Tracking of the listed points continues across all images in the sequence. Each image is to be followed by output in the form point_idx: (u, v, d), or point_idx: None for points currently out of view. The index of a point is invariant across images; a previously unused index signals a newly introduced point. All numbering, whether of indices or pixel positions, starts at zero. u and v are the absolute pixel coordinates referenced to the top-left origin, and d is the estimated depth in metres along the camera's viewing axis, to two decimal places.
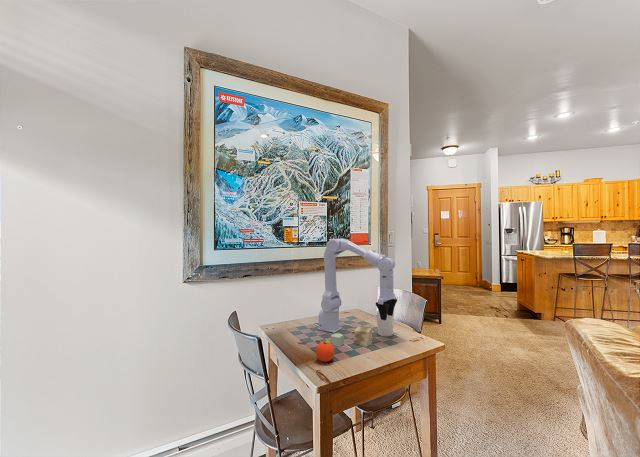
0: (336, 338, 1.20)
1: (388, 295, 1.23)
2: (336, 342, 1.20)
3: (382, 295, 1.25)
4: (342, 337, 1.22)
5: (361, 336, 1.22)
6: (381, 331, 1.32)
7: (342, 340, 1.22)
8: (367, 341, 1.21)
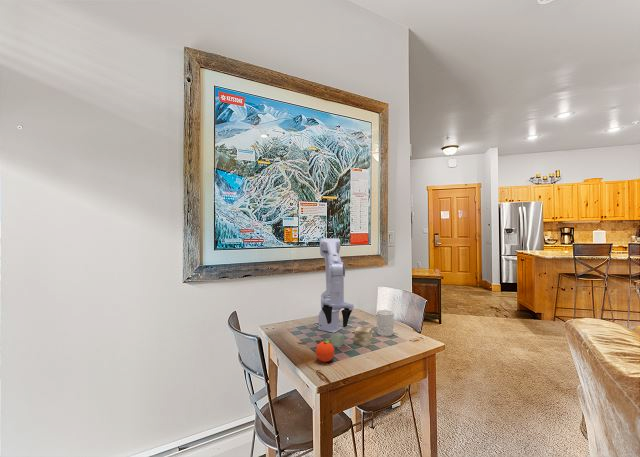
0: (336, 338, 1.20)
1: (330, 301, 1.22)
2: (336, 342, 1.20)
3: None
4: (342, 337, 1.22)
5: (361, 336, 1.22)
6: (381, 331, 1.32)
7: (342, 340, 1.22)
8: (367, 341, 1.21)
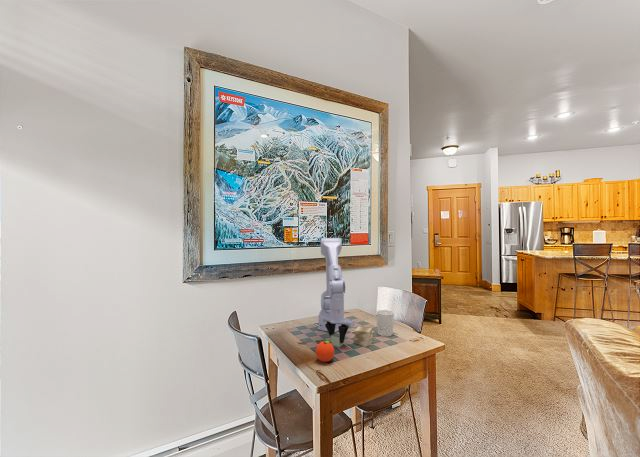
0: (336, 338, 1.20)
1: (330, 317, 1.22)
2: (336, 342, 1.20)
3: None
4: None
5: (361, 336, 1.22)
6: (381, 331, 1.32)
7: None
8: (367, 341, 1.21)
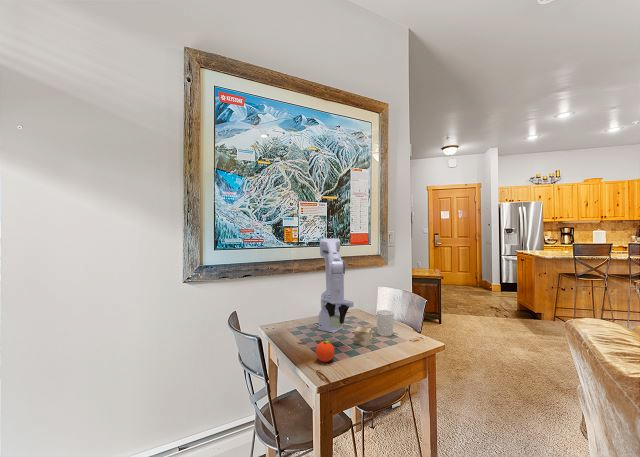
0: (336, 319, 1.20)
1: (330, 298, 1.22)
2: (336, 323, 1.20)
3: None
4: None
5: (361, 336, 1.22)
6: (381, 331, 1.32)
7: None
8: (367, 341, 1.21)
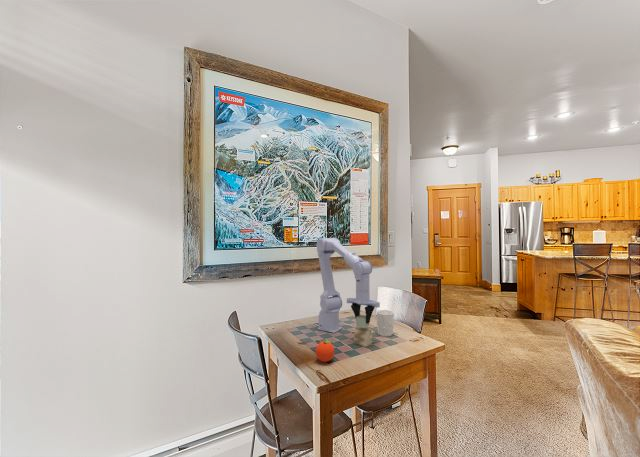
0: (362, 319, 1.23)
1: (356, 298, 1.25)
2: (362, 323, 1.23)
3: None
4: None
5: (361, 336, 1.22)
6: (381, 331, 1.32)
7: None
8: (367, 341, 1.21)
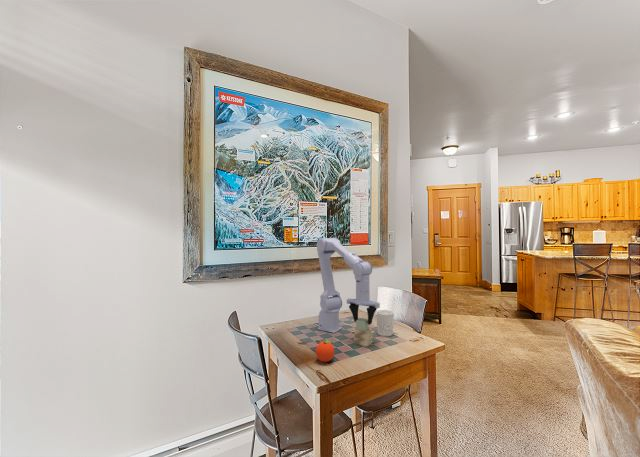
0: (362, 322, 1.23)
1: (356, 299, 1.25)
2: (362, 326, 1.23)
3: None
4: (367, 321, 1.25)
5: (361, 336, 1.22)
6: (381, 331, 1.32)
7: (368, 325, 1.25)
8: (367, 341, 1.21)
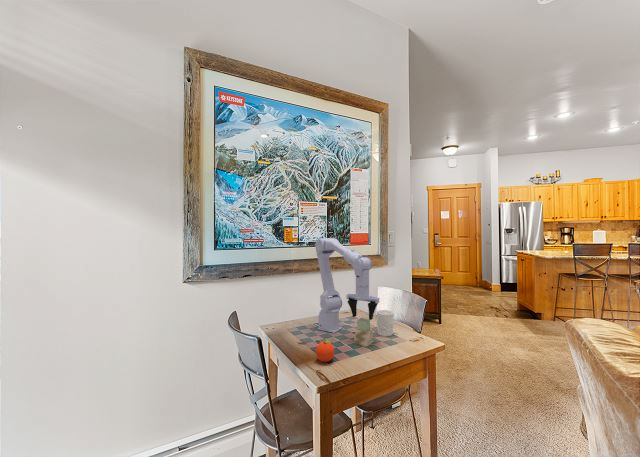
0: (363, 322, 1.23)
1: (355, 294, 1.25)
2: (363, 326, 1.23)
3: None
4: (368, 321, 1.24)
5: (362, 336, 1.22)
6: (381, 331, 1.32)
7: (369, 325, 1.25)
8: (367, 341, 1.21)
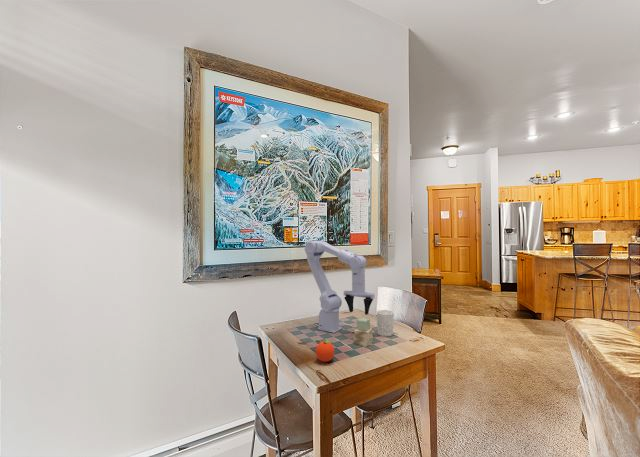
0: (362, 322, 1.23)
1: (352, 291, 1.32)
2: (362, 326, 1.23)
3: None
4: (368, 321, 1.24)
5: (361, 336, 1.22)
6: (381, 331, 1.32)
7: (368, 325, 1.25)
8: (367, 341, 1.21)
